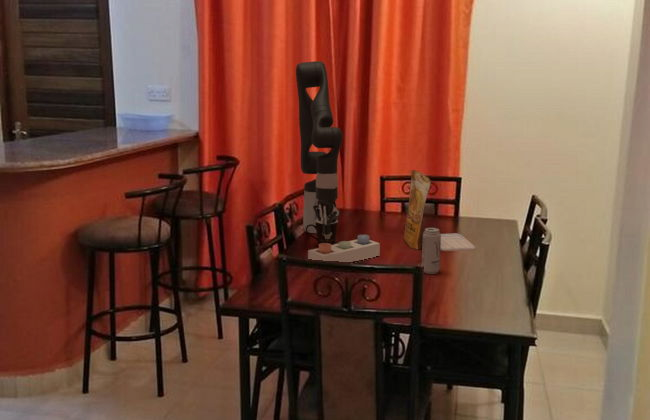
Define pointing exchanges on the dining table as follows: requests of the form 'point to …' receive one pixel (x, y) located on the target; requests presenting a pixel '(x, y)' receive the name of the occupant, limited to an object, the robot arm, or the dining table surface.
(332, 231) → the coffee mug
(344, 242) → the button sage
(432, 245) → the energy drink can
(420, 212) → the pancake mix bag
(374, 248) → the console
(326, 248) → the button terracotta
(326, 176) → the robot arm
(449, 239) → the calculator
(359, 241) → the button slate
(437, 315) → the dining table surface
